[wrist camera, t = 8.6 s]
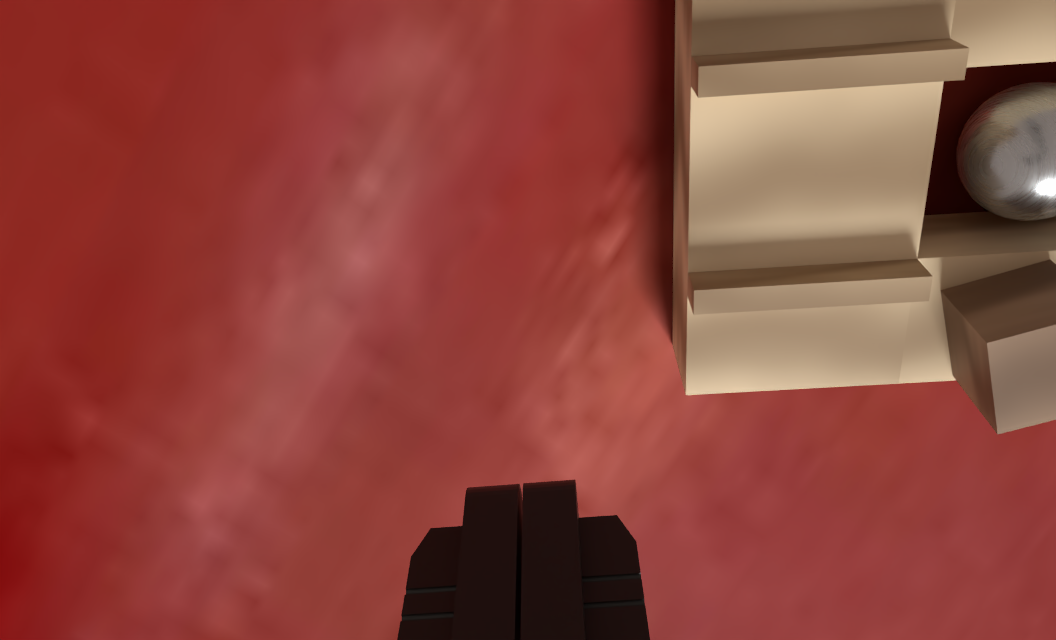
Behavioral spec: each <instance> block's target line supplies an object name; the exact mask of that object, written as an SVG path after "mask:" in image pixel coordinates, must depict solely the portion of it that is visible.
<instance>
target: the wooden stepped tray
mask: <svg viewBox="0 0 1056 640" xmlns="http://www.w3.org/2000/svg"><path fill="white" fill-rule="evenodd" d="M1041 62H1056V0H675V93H674V220H673V349H674V353H675V357H676V360H677V364H678V368H679V371H680V375H681V379H682V383H683V386H684V390H685V394H686V395H696V394H715V393H733V392H751V391H770V390H788V389H806V388H824V387H843V386H861V385H879V384H897V383H916V382H934V381H952V380H956V379H955V378H954V377H953V375H952V368H951V361H950V354H949V347H948V340H947V333H946V326H945V319H944V312H943V305H942V298H941V291H940V290H943V289H947V288H951V287H954V286H958V285H961V284H965V283H968V282H972V281H975V280H979V279H982V278H986V277H989V276H993V275H996V274H1000V273H1004V272H1007V271H1011V270H1014V269H1018V268H1021V267H1025V266H1028V265H1032V264H1035V263H1039V262H1042V261H1046V260H1049V259H1050V260H1051V261H1053V262H1054V263H1055V264H1056V216H1053V217H1050V218H1047V219H1041V220H1028V221H1023V220H1014V219H1009V218H1004V217H1001V216H999V215H996V214H994V213H992V212H990V211H988V212H971V213H955V214H939V215H924V211H925V204H926V197H927V191H928V184H929V177H930V171H931V164H932V157H933V151H934V144H935V137H936V130H937V124H938V117H939V110H940V104H941V97H942V90H943V84H944V81H956V80H964V79H965V73H966V68H967V67H982V66H997V65H1012V64H1026V63H1041Z"/></svg>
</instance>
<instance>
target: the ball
mask: <svg viewBox="0 0 1056 640" xmlns="http://www.w3.org/2000/svg"><path fill="white" fill-rule="evenodd" d="M956 163H957V170H958V174H959V177H960V180H961V182H962V184H963V186H964V188H965V189H966V191H967V192H968V194H969V195H970V196H971V197H972V198H973V199H974V201H976V202H977V203H978V204H979V205H980V206H982V207H983V208H985V209H986V210H988V211H990V212H992V213H994V214H996V215H999V216H1001V217H1004V218H1009V219H1014V220H1023V221H1028V220H1041V219H1047V218H1050V217H1053V216H1056V83H1050V82H1031V83H1025V84H1020V85H1016V86H1013V87H1010V88H1008V89H1005V90H1003V91H1001V92H999V93H997V94H995V95H994V96H992V97H991V98H989V99H988V100H986V101H985V102H984V103H983V104H981V105H980V106H979V107H978V108H977V109H976V111H975V112H974V113H973V114H972V115H971V116H970V118H969V119H968V121H967V122H966V124H965V126H964V128H963V130H962V132H961V135H960V137H959V140H958V144H957V151H956Z"/></svg>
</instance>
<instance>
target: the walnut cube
mask: <svg viewBox="0 0 1056 640" xmlns="http://www.w3.org/2000/svg"><path fill="white" fill-rule="evenodd" d="M940 291H941V298H942V305H943V312H944V319H945V326H946V333H947V340H948V347H949V354H950V361H951V368H952V375H953V377H954V378H955V379H956V381H957V382H958V383H959V384H960V386H961V387H962V388H963V390H964V391H965V392H966V394H967V395H968V396H969V397H970V399H971V400H972V401H973V403H974V404H975V405H976V407H977V408H978V409H979V411H980V412H981V413H982V414H983V416H984V417H985V418H986V420H987V421H988V422H989V424H990V425H991V426H992V428H993V429H994V430H995V431H996V433H997V434H1001V433H1005V432H1009V431H1013V430H1017V429H1020V428H1024V427H1028V426H1032V425H1036V424H1040V423H1044V422H1048V421H1052V420H1056V264H1055V263H1054V262H1053V261H1051V260H1050V259H1049V260H1046V261H1042V262H1039V263H1035V264H1032V265H1028V266H1025V267H1021V268H1018V269H1014V270H1011V271H1007V272H1004V273H1000V274H996V275H993V276H989V277H986V278H982V279H979V280H975V281H972V282H968V283H965V284H961V285H958V286H954V287H951V288H947V289H943V290H940Z"/></svg>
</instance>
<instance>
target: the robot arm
mask: <svg viewBox="0 0 1056 640" xmlns="http://www.w3.org/2000/svg"><path fill="white" fill-rule="evenodd" d="M398 640H650V637H649V630H648V622H647V615H646V608H645V603H644V594H643V587H642V580H641V573H640V566H639V559H638V551H637V544H636V541H635V539H634V538H633V537H632V535H631V534H630V533H629V531H628V530H627V528H626V527H625V526H624V524H623V523H622V522H621V520H620V519H619V518H618V516H617V515H613V516H598V517H584V518H579V514H578V503H577V492H576V482H575V480H565V481H551V482H537V483H524V484H523V500H522V493H521V488H520V484H512V485H498V486H484V487H470V488H467V490H466V496H465V506H464V516H463V526H457V527H443V528H431V529H430V530H429V532H428V533H427V535H426V536H425V537H424V539H423V540H422V542H421V543H420V545H419V546H418V548H417V549H416V551H415V552H414V553H413V555H412V556H411V561H410V567H409V573H408V579H407V585H406V595H405V597H404V603H403V609H402V621H401V622H400V628H399V634H398Z"/></svg>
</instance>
